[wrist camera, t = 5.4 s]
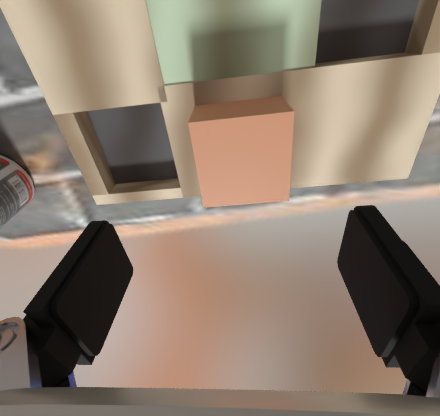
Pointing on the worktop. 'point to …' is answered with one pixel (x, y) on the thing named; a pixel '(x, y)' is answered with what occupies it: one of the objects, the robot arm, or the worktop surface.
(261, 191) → the block
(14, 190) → the pill bottle
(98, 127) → the board
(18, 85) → the worktop surface
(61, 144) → the worktop surface
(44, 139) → the worktop surface
